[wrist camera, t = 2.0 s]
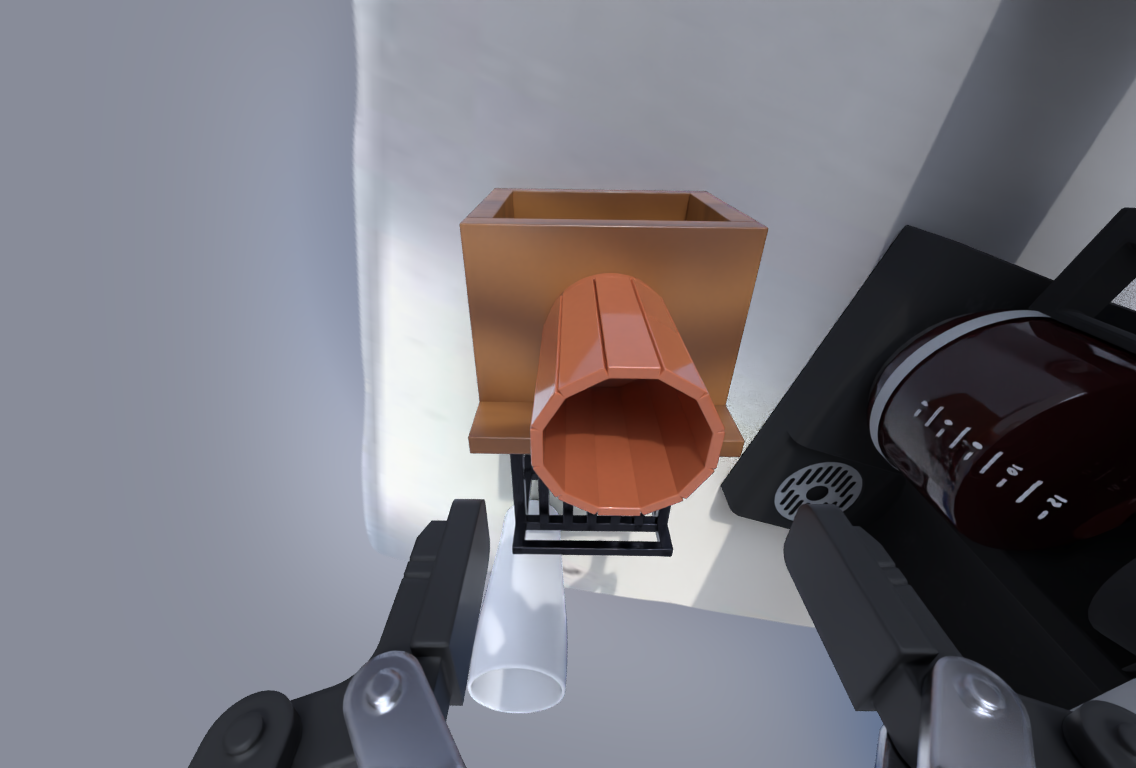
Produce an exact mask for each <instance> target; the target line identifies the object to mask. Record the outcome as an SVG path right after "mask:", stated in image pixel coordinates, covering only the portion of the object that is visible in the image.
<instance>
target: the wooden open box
mask: <svg viewBox="0 0 1136 768" xmlns="http://www.w3.org/2000/svg"><path fill="white" fill-rule="evenodd" d="M460 232H461V241H462V250H463V259H464V268H465V277H466V286H467V295H468V304H469V312H470V321H471V330H472V339H473V348H474V357H475V366H476V375H477V383H478V392H479V401H480V402H479V405H478V408H477V411H476V415H475V418H474V421H473V424H472V427H471V430H470V434H469V437H468V440H469V447H470V453H485V454H531V444H530V426H531V418H532V410H533V403H534V395H535V387H536V380H537V372H538V364H539V356H540V349H541V341H542V333H543V326H544V322H545V320H546V318H547V315H548V313H549V310H550V308H551V306H552V305H553V303H554V302H555V300H556V299H557V297H558V296H559V295H560V294H561V293H562V292H563V291H564V290H565V289H567V288H568V287H569V286H570V285H572V284H574V283H575V282H577V281H579V280H581V279H583V278H585V277H589V276H592V275H596V274H601V273H619V274H624V275H629V276H632V277H635V278H637V279H639V280H641V281H643V282H645V283H646V284H647V285H649V286H650V287H652V288H653V289H654V290H655V291H656V292H657V293H658V294H659V295H660V297H662V299H663V301H664V303H665V305H666V307H667V309H668V311H669V313H670V315H671V317H672V319H673V321H674V323H675V325H676V327H677V329H678V332H679V334H680V336H681V338H682V340H683V342H684V344H685V346H686V348H687V350H688V352H689V354H690V356H691V358H692V360H693V362H694V364H695V366H696V368H697V370H698V372H699V375H700V377H701V379H702V381H703V383H704V385H705V387H706V389H707V391H708V393H709V395H710V397H711V399H712V401H713V404H714V406H715V408H716V410H717V412H718V414H719V416H720V419H721V421H722V423H723V425H724V427H725V430H724V431H725V436H724V440H723V444H722V448H721V452H720V456H719V457H740V456H741V452H742V449H743V445H744V439H743V437H742V435H741V433H740V432H739V430H738V428H737V426H736V424H735V422H734V420H733V418H732V416H731V414H730V413H729V411H728V409H727V407H726V401H727V397H728V393H729V388H730V384H731V380H732V376H733V372H734V368H735V364H736V360H737V356H738V351H739V347H740V343H741V339H742V335H743V331H744V327H745V323H746V318H747V314H748V310H749V306H750V302H751V298H752V294H753V290H754V286H755V281H756V277H757V273H758V269H759V265H760V261H761V257H762V253H763V248H764V244H765V240H766V236H767V232H768V228H767V227H766V226H764V225H762V224H761V223H759V222H757V221H756V220H754V219H752V218H751V217H749V216H747V215H745V214H744V213H742V212H740V211H739V210H737V209H735V208H734V207H732V206H730V205H729V204H727V203H725V202H723V201H722V200H720V199H718V198H717V197H715V196H713V195H712V194H710V193H708V192H706V191H648V190H578V189H508V188H495V189H494V190H493V191H492V192H491V193H490V194H489V195H488V196H487V197H486V198H485V199H484V200H483V201H482V202H481V203H480V204H479V205H478V206H477V207H476V208H475V209H474V210H473V211H472V212H471V213H470V214H469V215H468V216H467V217H466V218H465V219H464V220H463V221H462V222H461V223H460Z"/></svg>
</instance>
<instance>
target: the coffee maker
mask: <svg viewBox="0 0 1136 768" xmlns="http://www.w3.org/2000/svg"><path fill="white" fill-rule="evenodd" d="M1135 278H1136V208H1123V209H1121V210H1120V211H1119V212H1118V213H1117V214H1116V215H1115V216H1114V217H1113V218H1112V219H1111V221H1110V222H1109V223H1108V224H1107V225H1106V226H1105V227H1104V228H1103V229H1102V230H1101V231H1100V232H1099V233H1098V234H1097V235H1096V236H1095V238H1094V239H1093V240H1092V241H1091V242H1090V243H1089V244H1088V245H1087V246H1086V247H1085V248H1084V249H1083V250H1082V251H1081V252H1080V253H1079V255H1078V256H1077V257H1076V258H1075V259H1074V260H1073V261H1072V262H1071V263H1070V264H1069V265H1068V266H1067V267H1066V268H1065V269H1064V271H1063V272H1062V273H1061V274H1060V275H1059V276H1058V277H1057V278H1056V279H1055V280H1051V279H1049V278H1046V277H1044V276H1041V275H1039V274H1036V273H1034V272H1031V271H1029V270H1026V269H1024V268H1021V267H1019V266H1017V265H1014V264H1012V263H1009V262H1007V261H1004V260H1002V259H999V258H997V257H994V256H992V255H989V254H987V253H984V252H982V251H979V250H977V249H974V248H972V247H969V246H967V245H964V244H962V243H959V242H956V241H954V240H951V239H948V238H945V237H942V236H939V235H936V234H933V233H930V232H927V231H924V230H921V229H918V228H915V227H912V226H909V225H906V226H905V227H904V229H903V230H902V231H901V233H900V234H899V236H898V237H897V238H896V240H895V241H894V243H893V244H892V245H891V247H890V248H889V250H888V251H887V252H886V254H885V255H884V257H883V258H882V260H881V261H880V262H879V264H878V265H877V267H876V268H875V269H874V271H873V272H872V274H871V275H870V276H869V278H868V279H867V281H866V282H865V283H864V285H863V286H862V288H861V289H860V290H859V292H858V293H857V295H856V296H855V298H854V299H853V300H852V302H851V303H850V305H849V306H848V307H847V309H846V310H845V312H844V313H843V314H842V316H841V317H840V319H839V320H838V321H837V323H836V324H835V326H834V327H833V329H832V330H831V331H830V333H829V334H828V336H827V337H826V338H825V340H824V341H823V343H822V344H821V345H820V347H819V348H818V350H817V351H816V352H815V354H814V355H813V357H812V358H811V359H810V361H809V362H808V364H807V365H806V367H805V368H804V369H803V371H802V372H801V374H800V375H799V376H798V378H797V379H796V381H795V382H794V383H793V385H792V386H791V388H790V389H789V390H788V392H787V393H786V395H785V396H784V398H783V399H782V400H781V402H780V403H779V405H778V406H777V407H776V409H775V410H774V412H773V413H772V414H771V416H770V417H769V419H768V420H767V421H766V423H765V424H764V426H763V427H762V428H761V430H760V431H759V433H758V434H757V436H756V437H755V438H754V440H753V441H752V443H751V444H750V445H749V447H748V448H747V450H746V451H745V452H744V454H743V455H742V457H741V458H740V459H739V461H738V462H737V464H736V465H735V467H734V468H733V469H732V471H731V472H730V474H729V475H728V476H727V478H726V479H725V481H724V482H723V483H722V485H721V487H722V490H723V492H724V495H725V497H726V500H727V502H728V505H729V507H730V509H731V510H732V512H734V513H735V514H736V515H738V516H741V517H745V518H749V519H753V520H756V521H760V522H764V523H768V524H772V525H776V526H780V527H784V528H787V529H790V528H791V525H792V523H793V520H794V518H795V515H796V513H797V510H798V508H799V507H800V505H802V504H834V505H837V506H838V507H839V508H840V509H841V510H842V512H843V513H844V514H845V516H846V517H847V519H848V520H849V522H850V523H851V525H852V526H860V527H861V528H862V529H864V530H865V531H866V532H867V533H868V534H870V535H871V536H872V537H873V538H874V539H876V540H877V541H878V542H879V543H880V544H881V545H882V546H883V548H884V549H885V551H886V552H887V553H888V555H889V556H890V557H891V559H892V560H893V562H894V563H895V567H896V568H899V570H900V571H901V573H902V574H903V575H904V577H905V578H906V580H907V583H908V585H911V586H912V588H913V589H914V591H915V592H916V593H917V595H918V596H919V597H920V599H921V600H922V602H923V603H924V604H925V606H926V607H927V609H928V610H929V611H930V613H931V614H932V615H933V617H934V618H935V620H936V621H937V622H938V624H939V625H940V626H941V628H942V629H943V631H944V632H945V633H946V635H947V636H948V638H949V639H950V640H951V642H952V643H953V644H954V646H955V647H956V649H957V650H958V651H959V652H960V654H961V655H962V656H963V657H964V658H967V659H970V660H972V661H975V662H977V663H979V664H981V665H982V666H984V667H986V668H988V669H989V670H991V671H992V672H993V673H995V674H996V675H997V676H999V677H1000V678H1001V679H1002V680H1003V681H1005V682H1006V683H1007V684H1008V685H1009V686H1010V687H1011V688H1012V690H1013V691H1014V692H1015V693H1017V694H1020V695H1023V696H1026V697H1029V698H1032V699H1035V700H1038V701H1041V702H1045V703H1048V704H1051V705H1054V706H1057V707H1060V708H1063V709H1066V710H1070V711H1075V710H1076V709H1077V708H1079V707H1080V706H1081V705H1083V704H1084V703H1085V702H1087V701H1091V700H1100V701H1106V702H1110V703H1113V704H1116V705H1118V706H1121V707H1123V708H1125V709H1127V710H1129V711H1131V712H1133V713H1135V714H1136V311H1134V310H1132V309H1129V308H1126V307H1123V306H1120V305H1117V304H1115V303H1112V302H1111V301H1112V300H1113V299H1114V298H1115V297H1116V296H1117V295H1118V294H1119V293H1120V292H1121V291H1122V290H1123V289H1124V288H1125V287H1126V286H1128V285H1129V284H1130V283H1131V282H1132V281H1133V280H1134V279H1135Z"/></svg>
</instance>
